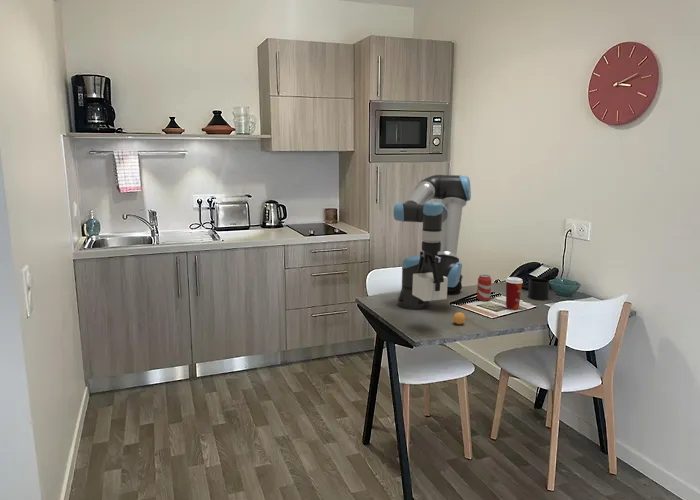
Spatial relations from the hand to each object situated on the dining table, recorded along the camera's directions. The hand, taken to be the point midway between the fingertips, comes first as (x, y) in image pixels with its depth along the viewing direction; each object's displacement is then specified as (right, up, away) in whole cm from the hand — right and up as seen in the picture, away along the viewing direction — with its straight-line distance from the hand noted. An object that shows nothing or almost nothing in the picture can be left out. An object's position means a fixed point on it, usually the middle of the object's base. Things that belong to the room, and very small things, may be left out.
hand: (429, 295), depth 214 cm
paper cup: (+44, -9, +32) cm, 55 cm away
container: (+19, -4, +58) cm, 61 cm away
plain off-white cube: (0, -1, 0) cm, 1 cm away
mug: (+63, -6, +50) cm, 81 cm away
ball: (+14, -10, +7) cm, 19 cm away
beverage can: (+33, -6, +45) cm, 56 cm away
